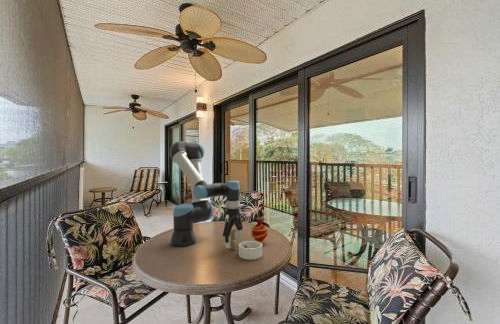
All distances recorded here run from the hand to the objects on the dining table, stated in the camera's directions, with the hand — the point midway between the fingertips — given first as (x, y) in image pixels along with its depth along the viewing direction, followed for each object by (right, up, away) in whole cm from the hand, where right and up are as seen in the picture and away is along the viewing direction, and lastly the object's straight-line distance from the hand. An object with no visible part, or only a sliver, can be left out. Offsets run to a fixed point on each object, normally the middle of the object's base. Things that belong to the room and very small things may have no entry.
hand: (233, 244), depth 147 cm
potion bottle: (+15, -3, +11) cm, 19 cm away
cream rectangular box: (0, -3, 0) cm, 3 cm away
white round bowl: (+10, -3, -10) cm, 14 cm away
